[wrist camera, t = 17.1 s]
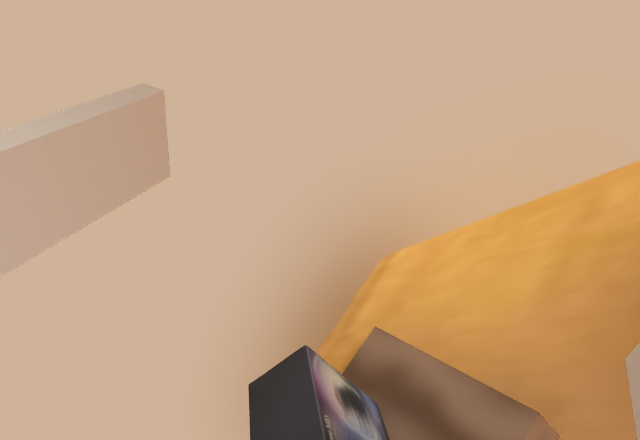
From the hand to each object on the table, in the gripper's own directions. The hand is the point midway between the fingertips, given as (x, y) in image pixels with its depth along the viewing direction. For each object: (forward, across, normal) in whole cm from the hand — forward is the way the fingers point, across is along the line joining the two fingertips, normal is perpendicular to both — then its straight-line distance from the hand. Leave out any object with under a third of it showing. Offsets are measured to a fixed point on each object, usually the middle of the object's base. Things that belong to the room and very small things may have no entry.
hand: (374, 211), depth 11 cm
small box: (+10, +3, -30) cm, 32 cm away
